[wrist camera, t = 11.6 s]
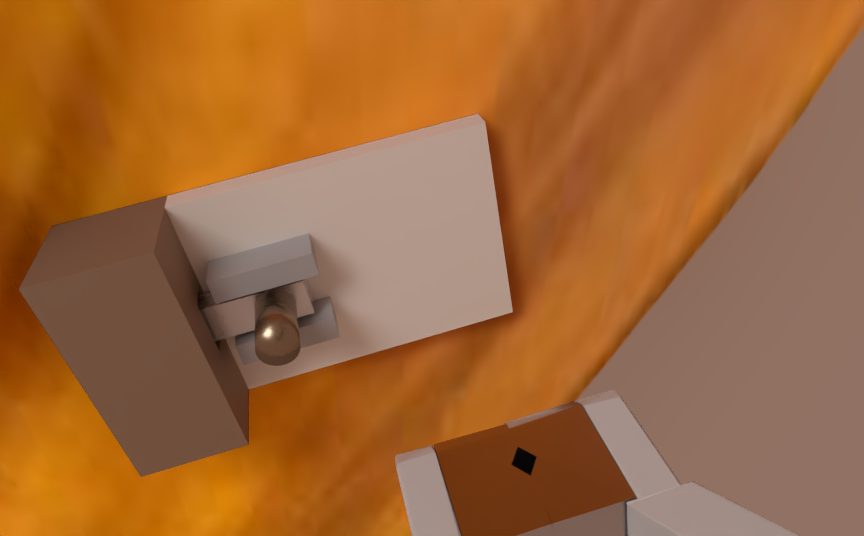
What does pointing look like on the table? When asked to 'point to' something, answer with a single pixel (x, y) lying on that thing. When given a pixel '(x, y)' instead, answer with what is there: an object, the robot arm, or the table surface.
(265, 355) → the bolt
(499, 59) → the table surface
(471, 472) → the robot arm
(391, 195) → the door plate
